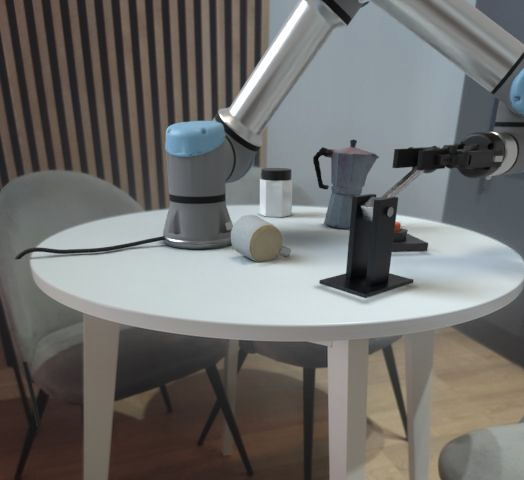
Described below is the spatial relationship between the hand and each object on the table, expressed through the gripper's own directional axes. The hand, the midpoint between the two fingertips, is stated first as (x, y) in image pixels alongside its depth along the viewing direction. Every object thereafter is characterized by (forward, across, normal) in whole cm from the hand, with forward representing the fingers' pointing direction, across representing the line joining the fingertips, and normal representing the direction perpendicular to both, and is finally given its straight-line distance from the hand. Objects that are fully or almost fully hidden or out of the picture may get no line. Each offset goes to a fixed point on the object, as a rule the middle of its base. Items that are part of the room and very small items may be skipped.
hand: (407, 159), depth 75 cm
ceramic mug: (+8, +24, -19) cm, 31 cm away
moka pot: (-28, +36, -19) cm, 50 cm away
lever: (0, 0, -5) cm, 5 cm away
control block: (-17, +14, -19) cm, 29 cm away
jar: (-26, +58, -19) cm, 67 cm away
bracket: (+7, 0, -19) cm, 20 cm away
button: (-17, +14, -15) cm, 27 cm away
